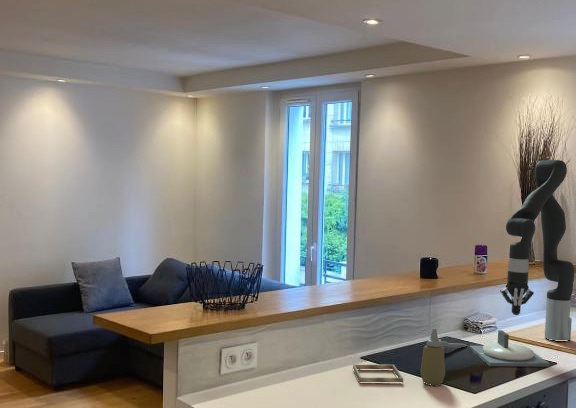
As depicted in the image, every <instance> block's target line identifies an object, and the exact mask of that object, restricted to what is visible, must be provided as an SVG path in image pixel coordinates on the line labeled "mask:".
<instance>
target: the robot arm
mask: <svg viewBox="0 0 576 408" xmlns="http://www.w3.org/2000/svg"><path fill="white" fill-rule="evenodd" d="M534 168H535V169H534V175H535V183H536V187H537V188H536V189H535V190H533V191H532V192H530V193H529V194H528V195H527V197H526V198H525V199H524V202H523V203H522V205H521V207H520V208H519V209H518V210H516V211H515V213H513V215H511V216H510V218H509V219H507V222H506V223H505V224H506V225H505V230H506V232H507V234H508V235H509V236H513V237H521V239H520V240H519V241H517V242H512V243H510V245H509V253H508V254H509V255H508V256H509V258H508V263H507V276H506V278H507V280H506V282H507V283H506V284H505V287H504V288H503V289H500V290H499V292H500V294H501V295H502V297H503V298H504V299H505V301H506V302H507V303H508V304H509V305H511V313H512V314H513V315H514V316H519V315H520V314H521V307H522V305H525V304H526V305H527V303H528V301H529V300H530V299H531V298H532V296H533V295H534V294H535V293H534V291H533V290H531V289H530V288H529V285H528V283H529V270H530V262H529V259H530V258H529V257H530V256H529V255H530V249H531V247H530V246H531V243H532V240H533V238H534V235H535V232H536V224H535V222H534V220H535V221H536V220H537V218H538V217H539V215H540V221H541V230H542V231H541V232H542V244H543V262H542V263H543V264H542V265H543V266H542V268H543V275H544V277H545V279H546V280H547V281H549V282H550V281H551V282H555V283H557V287H556V288H553V289H549V290H548V291H546V306H545V307H546V308H545V322H544V323H545V324H544V339H545V338H548V339H552V340H571V339H572V338H571V336H572V321H573V320H572V317H570V316H571V300H572V295H573V290H574V283H575V282H574V281H575V273H576V272H575V267H574V264H573V263H572V262H571V261H567V260H561V259H558V247H559V244H560V242H561V240H562V239H563V237H564V235H565V233H566V230H567V226H566V224H567V223H566V222H567V221H566V213H565V211H564V209H563V207H562V206H561V205H560V203H559V202H558V200H557V199H556V198H555V196H554V195H553V194H554V193H555V191H557V189H558V188H559V187H560V186H561V185H562V183H563V182H564V181H565V179H566V177H567V173H568V169H567V168H568V167H567V164H566V162H564V160H561V159H544V160H538V161H537V162H536V164H535V167H534ZM508 294H509V295H510V296H509V295H508Z"/></svg>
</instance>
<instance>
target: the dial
mask: <svg viewBox="0 0 576 408" xmlns="http://www.w3.org/2000/svg"><path fill="white" fill-rule="evenodd" d="M509 335H510V334H508V333H507V332H505V331H504V330H498V331H497V342H490V343H485V344H484V345H482V346H483V352H484V353H485V354H487V355H489V356H491V357H495V358H499V359H505V360H516V361H521V360H529V359H532V358H533V356H534V353H535V352H534V350H533V349H532V348H530V347H527V346H525V345H521V344H516V343H510V342H509V337H510V336H509ZM524 346H525V347H524Z"/></svg>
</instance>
